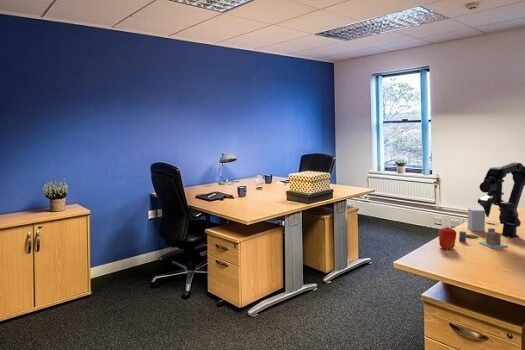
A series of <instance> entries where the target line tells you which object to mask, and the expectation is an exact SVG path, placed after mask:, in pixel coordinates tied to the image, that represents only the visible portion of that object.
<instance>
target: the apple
mask: <svg viewBox="0 0 525 350" xmlns="http://www.w3.org/2000/svg"><path fill="white" fill-rule="evenodd" d="M437 234H438V243H439V246H440V247H441V249H444V250H453V249H454V247H456V238H457V231H456V229H453V227H452V228H451V227H449V226H447V227H443V228H440V229H439V230H438V233H437Z"/></svg>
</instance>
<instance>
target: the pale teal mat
mask: <svg viewBox="0 0 525 350" xmlns="http://www.w3.org/2000/svg"><path fill="white" fill-rule="evenodd" d="M478 244H480V245H483V246H486V247H488V248H491V249H499V248H508V244H504V243H501V242H500V245H494V246H493V245H490V244H487V243H486V241H479V243H478Z"/></svg>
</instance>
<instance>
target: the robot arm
mask: <svg viewBox="0 0 525 350" xmlns="http://www.w3.org/2000/svg"><path fill="white" fill-rule="evenodd" d="M508 174H511V175H512V181H513V185H512V189H511V192H510V196H509V198H508V201H507V202H504V200H503V199H502V197H503V195H504V194H505V192H503V183H504V182H505V180H504V178H505V177H507V175H508ZM524 187H525V165H523V163H521V162H511V163H509V164H505V165H502V166H497V167H496V166H495V167H490V168H489V169H487V172H486V175H485V177H484V179H483V182H481V183H480V185H479V190H480V191H481V192H482V193H485V194H486V195H484V196H482V197H479V198H478V199H477V204H479V205H480V206H481V208H482V209H483V210H484V211H485V218H489V217H490V214H491V209H492V206H493V205H494V206H497V207H498V211H499V216H498V219H499V224H500V225H502V232H499V233H500V234H501V236H505V237H508V238H513V237H515V238H516V237H519V234H517V231H518V229H517V228H520V226H521V225H522V224H521V223H522V221H521V220H520V218H519V213H518V209H517V208H518V206H519V203H520V200H521V197H522V194H523V190H524Z"/></svg>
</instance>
